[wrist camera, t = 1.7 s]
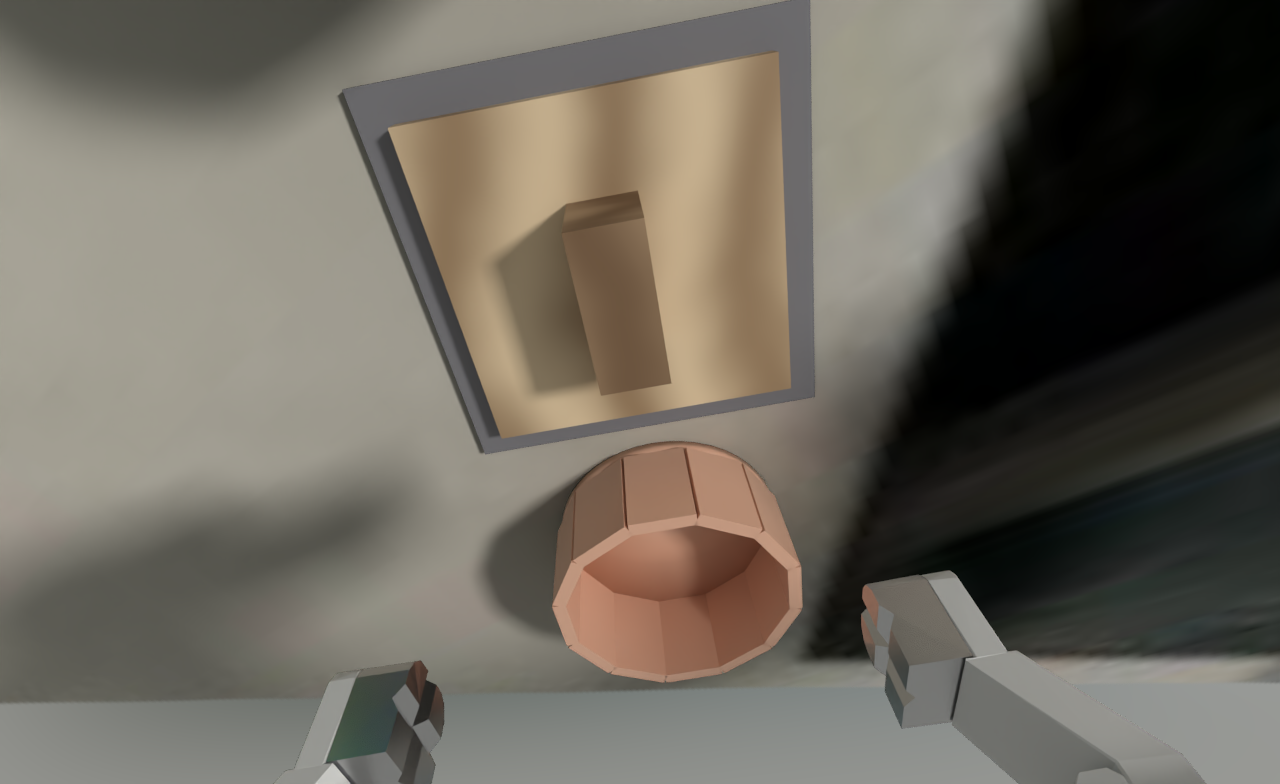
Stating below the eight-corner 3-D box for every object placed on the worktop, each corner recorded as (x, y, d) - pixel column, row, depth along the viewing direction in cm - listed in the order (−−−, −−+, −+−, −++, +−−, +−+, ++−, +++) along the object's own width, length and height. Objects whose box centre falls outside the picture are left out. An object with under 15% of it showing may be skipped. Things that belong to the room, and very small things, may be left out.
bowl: (767, 423, 33) (798, 497, 28) (777, 579, 40) (804, 661, 35) (537, 462, 33) (527, 542, 28) (587, 610, 40) (585, 695, 35)
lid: (771, 50, 23) (811, 57, 19) (785, 378, 31) (815, 435, 27) (395, 124, 24) (350, 147, 19) (504, 427, 31) (489, 490, 27)
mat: (806, -3, 22) (809, -4, 22) (812, 393, 32) (814, 397, 32) (345, 88, 23) (342, 89, 23) (486, 449, 33) (485, 454, 32)
